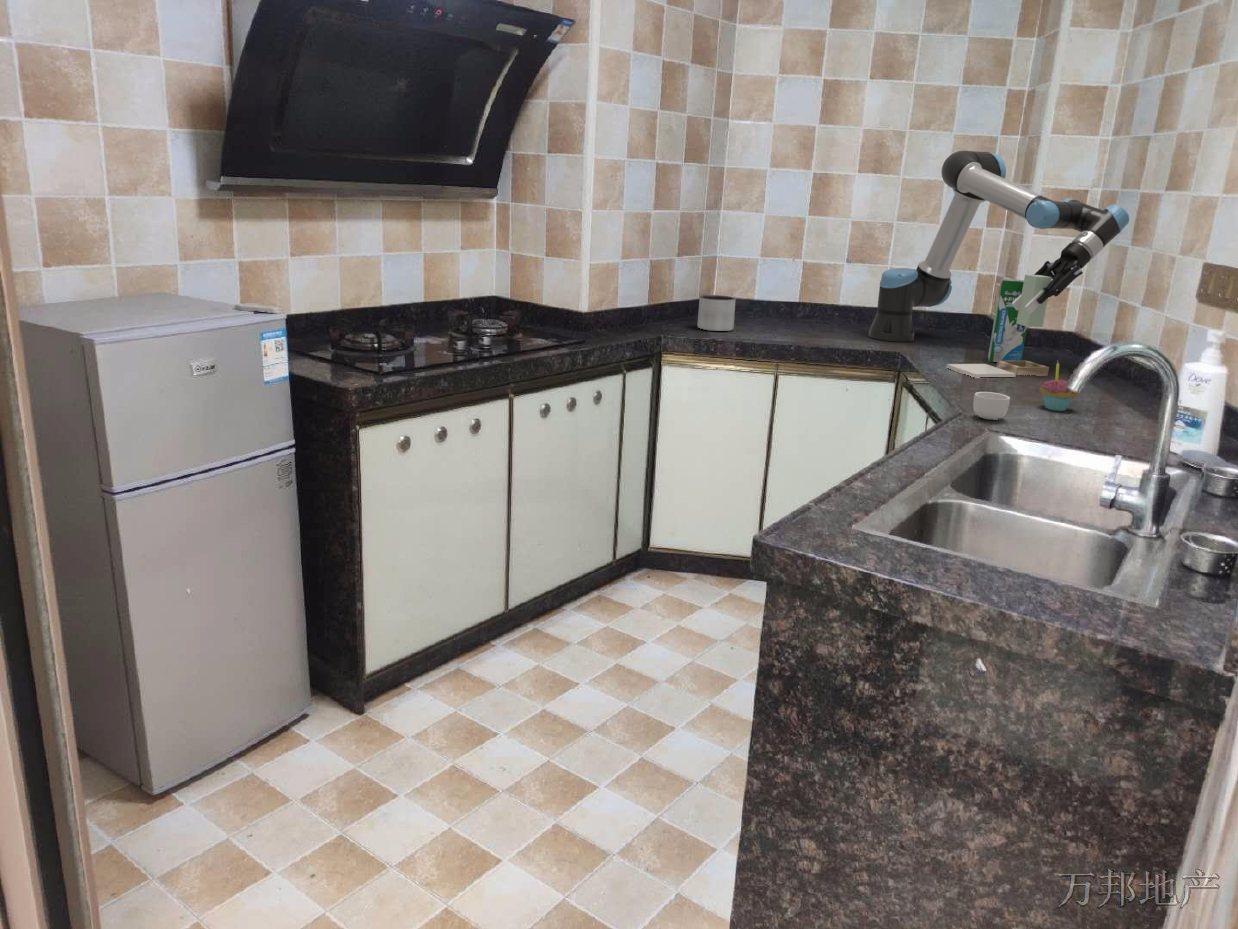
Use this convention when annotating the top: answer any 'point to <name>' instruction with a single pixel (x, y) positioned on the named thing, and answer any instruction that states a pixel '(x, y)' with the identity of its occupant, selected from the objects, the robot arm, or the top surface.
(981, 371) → the trivet
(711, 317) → the planter
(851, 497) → the top surface
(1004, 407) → the teacup
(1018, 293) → the milk carton
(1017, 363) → the holder
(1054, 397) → the cupcake
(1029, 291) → the post
